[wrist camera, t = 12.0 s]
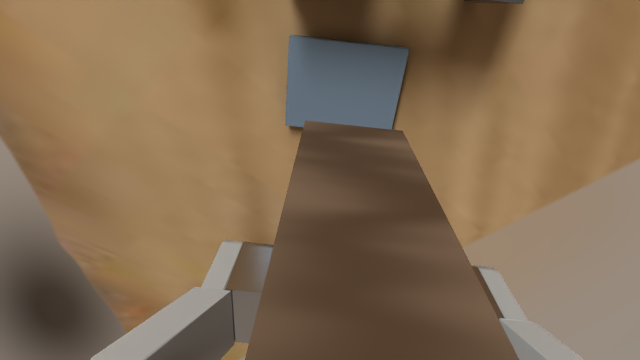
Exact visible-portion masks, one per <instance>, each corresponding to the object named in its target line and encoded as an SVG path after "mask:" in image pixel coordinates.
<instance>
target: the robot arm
mask: <svg viewBox="0 0 640 360" xmlns="http://www.w3.org/2000/svg"><path fill="white" fill-rule="evenodd" d="M273 246H274V245H269V244H261V243H253V242H242V241H234V240H227V239H226V240H225V241H223V242H222V244H221V246H220V248H219V250H218V252H217V254H216V256H215V258H214V261H213V263H212V265H211V267H210V269H209V271H208V273H207V275H206V277H205V280H204V282H203V284H202V286H201V287H194V288H192V289H191V290H190V291H188V292H187V293H185V294H184V295H182V296H181V297H179V298H178V299H176V300H175V301H173V302H172V303H171V304H169V305H168V306H166V307H165V308H163V309H162V310H160V311H159V312H157V313H156V314H155V315H153V316H152V317H150V318H149V319H147V320H146V321H144V322H143V323H141V324H140V325H138V326H137V327H136V328H134V329H133V330H131V331H130V332H128V333H127V334H125V335H124V336H122V337H121V338H120V339H118V340H117V341H115V342H114V343H112V344H111V345H109V346H108V347H106V348H105V349H104V350H102V351H101V352H99V353H98V354H96V355H95V356H93V357H92V358H91V360H220V359H221V358H222V357H223V356H224V355H225V354H226V353H227V352H228V351H229V349H230V348H231V347H232V346H233V345H234V342H243V343H249V342H250V338H251V334H252V330H253V326H254V322H255V318H256V314H257V310H258V306H259V302H260V298H261V294H262V290H263V286H264V282H265V278H266V274H267V270H268V266H269V262H270V258H271V254H272V250H273ZM472 268H473V270H474V272H475V274H476V276H477V278H478V280H479V282H480V284H481V286H482V288H483V289H484V291H485V293H486V295H487V297H488V299H489V301H490V303H491V305H492V307H493V309H494V311H495V313H496V315H497V317H498V319H499V321H500V323H501V325H502V327H503V329H504V331H505V333H506V334H507V336H508V338H509V340H510V342H511V344H512V346H513V348H514V350H515V352H516V354H517V356H518V358H519V360H584V359H582V358H581V357H580V356H578V355H577V354H576V353H574V352H573V351H572V350H571V349H569V348H568V347H567V346H566V345H564V344H563V343H562V342H560V341H559V340H558V339H556V338H555V337H554V336H553V335H551V334H550V333H549V332H547V331H546V330H545V329H543V328H542V327H541V326H539V325H538V324H537V323H536V322H531V321H528V319H527V318H526V316H525V315H524V313H523V311H522V310H521V308H520V306H519V305H518V303H517V301H516V300H515V298H514V296H513V295H512V293H511V291H510V290H509V288H508V286H507V285H506V283H505V281H504V280H503V278H502V276H501V275H500V273H499V271H498V270H497V269H495V268H494V267H485V266H472Z"/></svg>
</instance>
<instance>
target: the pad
mask: <svg viewBox="0 0 640 360" xmlns="http://www.w3.org/2000/svg"><path fill="white" fill-rule="evenodd" d="M408 53H409V49H408V48H405V47H396V46H387V45H378V44H369V43H360V42H351V41H342V40H333V39H324V38H315V37H306V36H297V35H290V36H289V54H288V77H287V100H286V123H285V125H286V126H296V127H304V123H305V120H306V121H315V122H325V123H334V124H343V125H353V126H362V127H371V128H381V129H390V130H392V125H393V121H394V116H395V112H396V107H397V103H398V98H399V94H400V89H401V85H402V80H403V76H404V71H405V67H406V62H407V58H408Z"/></svg>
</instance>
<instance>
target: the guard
mask: <svg viewBox="0 0 640 360" xmlns="http://www.w3.org/2000/svg"><path fill="white" fill-rule="evenodd" d="M464 1H472V2H484V3H517V4H523V1H524V0H464Z"/></svg>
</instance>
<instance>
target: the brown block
mask: <svg viewBox="0 0 640 360" xmlns="http://www.w3.org/2000/svg"><path fill="white" fill-rule="evenodd" d="M245 360H519V358H518V356H517V354H516V352H515V350H514V348H513V346H512V344H511V342H510V340H509V338H508V336H507V334H506V333H505V331H504V329H503V327H502V325H501V323H500V321H499V319H498V317H497V315H496V313H495V311H494V309H493V307H492V305H491V303H490V301H489V299H488V297H487V295H486V293H485V291H484V289H483V288H482V286H481V284H480V282H479V280H478V278H477V276H476V274H475V272H474V270H473V268H472V266H471V264H470V262H469V260H468V258H467V256H466V254H465V253H464V250H463V248H462V246H461V245H460V243H459V241H458V239H457V237H456V235H455V233H454V231H453V229H452V227H451V225H450V223H449V221H448V219H447V217H446V215H445V213H444V211H443V209H442V207H441V205H440V203H439V201H438V200H437V198H436V196H435V194H434V192H433V190H432V188H431V186H430V184H429V182H428V180H427V178H426V176H425V174H424V172H423V170H422V168H421V166H420V164H419V162H418V160H417V158H416V156H415V155H414V153H413V151H412V149H411V147H410V145H409V143H408V141H407V139H406V137H405V135H404V133H403V131H399V130H390V129H381V128H371V127H362V126H353V125H343V124H334V123H325V122H315V121H306V120H305V123H304V127H303V131H302V135H301V139H300V143H299V147H298V151H297V155H296V159H295V163H294V167H293V171H292V175H291V179H290V183H289V187H288V191H287V195H286V199H285V202H284V206H283V210H282V214H281V218H280V222H279V226H278V230H277V234H276V238H275V242H274V246H273V250H272V254H271V258H270V262H269V266H268V270H267V274H266V278H265V282H264V286H263V290H262V294H261V298H260V302H259V306H258V310H257V314H256V318H255V322H254V326H253V330H252V334H251V338H250V342H249V346H248V350H247V354H246V358H245Z"/></svg>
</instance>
